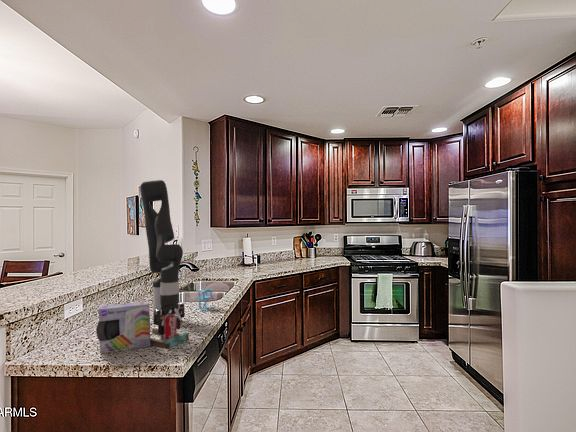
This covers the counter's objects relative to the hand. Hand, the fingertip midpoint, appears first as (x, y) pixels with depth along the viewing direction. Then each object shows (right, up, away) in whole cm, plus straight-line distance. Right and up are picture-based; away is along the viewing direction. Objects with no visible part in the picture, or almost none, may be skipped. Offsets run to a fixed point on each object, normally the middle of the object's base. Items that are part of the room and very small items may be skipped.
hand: (169, 331), depth 144 cm
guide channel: (-5, -5, +3) cm, 7 cm away
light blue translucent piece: (+2, -6, +54) cm, 54 cm away
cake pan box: (-16, -5, -6) cm, 18 cm away
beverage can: (0, -5, -1) cm, 5 cm away
